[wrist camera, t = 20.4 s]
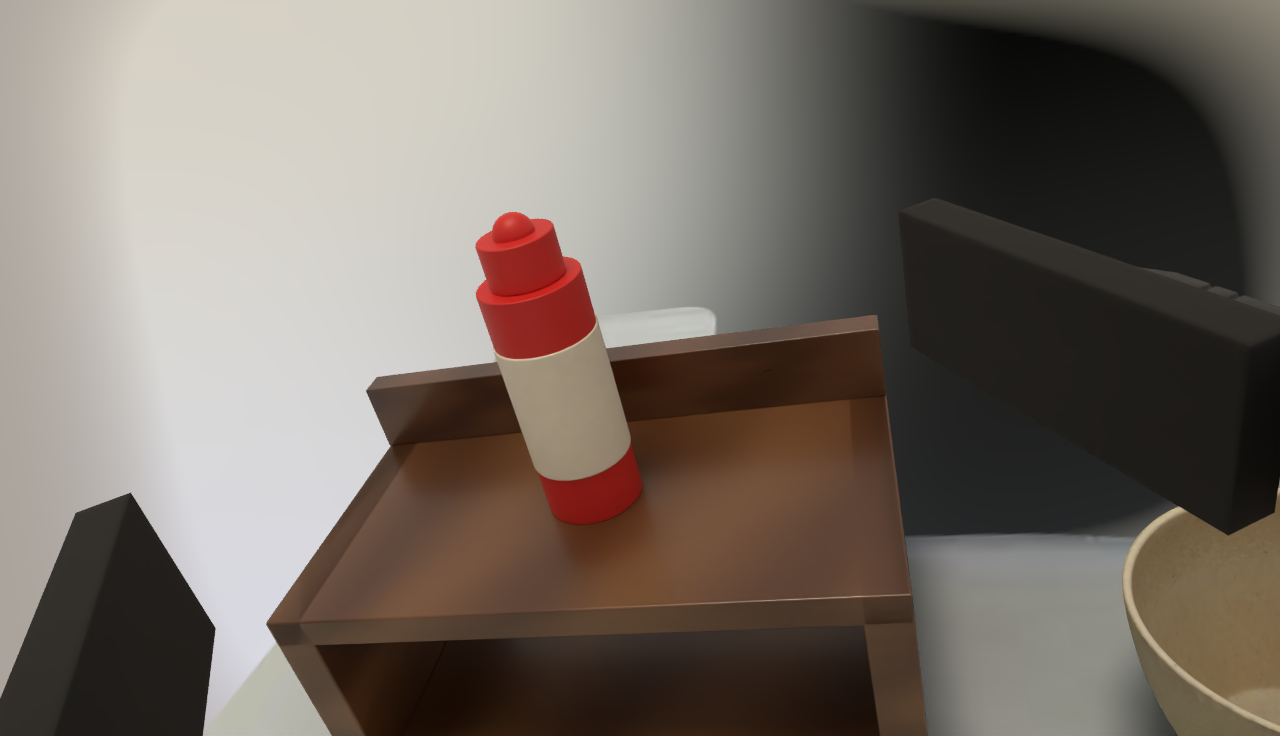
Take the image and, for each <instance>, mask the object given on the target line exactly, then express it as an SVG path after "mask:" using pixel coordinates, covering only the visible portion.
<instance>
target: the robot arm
mask: <svg viewBox="0 0 1280 736" xmlns="http://www.w3.org/2000/svg"><path fill="white" fill-rule="evenodd" d="M899 223H900V234H901V245H902V256H903V268H904V279H905V289H906V301H907V312H908V324H909V335H910V345H911V347H912V348H914V349H916V350H917V351H919V352H921V353H922V354H924V355H926V356H927V357H929V358H931V359H932V360H934V361H936V362H938V363H939V364H941V365H942V366H944V367H946V368H947V369H949V370H951V371H953V372H954V373H956V374H958V375H959V376H961V377H963V378H964V379H966V380H968V381H969V382H971V383H973V384H975V385H976V386H978V387H979V388H981V389H983V390H984V391H986V392H988V393H989V394H991V395H993V396H994V397H996V398H998V399H999V400H1001V401H1003V402H1005V403H1006V404H1008V405H1010V406H1011V407H1013V408H1015V409H1016V410H1018V411H1020V412H1022V413H1023V414H1025V415H1027V416H1028V417H1030V418H1031V419H1033V420H1035V421H1036V422H1038V423H1040V424H1042V425H1043V426H1045V427H1046V428H1048V429H1050V430H1052V431H1053V432H1055V433H1057V434H1058V435H1060V436H1062V437H1063V438H1065V439H1067V440H1068V441H1070V442H1072V443H1073V444H1075V445H1077V446H1078V447H1080V448H1082V449H1084V450H1085V451H1087V452H1088V453H1090V454H1092V455H1093V456H1095V457H1097V458H1099V459H1100V460H1102V461H1104V462H1105V463H1107V464H1109V465H1110V466H1112V467H1114V468H1115V469H1117V470H1119V471H1121V472H1122V473H1124V474H1125V475H1127V476H1129V477H1130V478H1132V479H1134V480H1135V481H1137V482H1139V483H1140V484H1142V485H1144V486H1146V487H1147V488H1149V489H1151V490H1152V491H1154V492H1156V493H1158V494H1159V495H1161V496H1162V497H1164V498H1166V499H1167V500H1169V501H1171V502H1172V503H1174V504H1176V505H1177V506H1179V507H1181V508H1182V509H1184V510H1186V511H1187V512H1189V513H1191V514H1192V515H1194V516H1196V517H1198V518H1199V519H1201V520H1203V521H1204V522H1206V523H1208V524H1209V525H1211V526H1213V527H1214V528H1216V529H1218V530H1219V531H1221V532H1223V533H1224V534H1226V535H1228V536H1229V535H1231V534H1233V533H1235V532H1237V531H1239V530H1241V529H1243V528H1245V527H1247V526H1249V525H1251V524H1253V523H1255V522H1257V521H1259V520H1261V519H1263V518H1265V517H1267V516H1269V515H1271V514H1273V513H1275V507H1276V500H1277V493H1278V486H1279V480H1280V307H1278V306H1275V305H1272V304H1269V303H1266V302H1263V301H1260V300H1257V299H1254V298H1251V297H1248V296H1245V295H1244V296H1242V297H1239V296H1238V293H1236V292H1233V291H1230V290H1227V289H1224V288H1221V287H1218V286H1216V287H1213V288H1212V287H1211V286H1210V284H1209V283H1206V282H1203V281H1200V280H1197V279H1194V278H1191V277H1188V276H1185V275H1182V274H1179V273H1176V272H1175V273H1174V272H1168V271H1160V270H1153V269H1145V268H1139V267H1136V266H1133V265H1130V264H1127V263H1124V262H1121V261H1119V260H1116V259H1113V258H1110V257H1107V256H1104V255H1101V254H1098V253H1095V252H1092V251H1089V250H1086V249H1083V248H1081V247H1078V246H1075V245H1072V244H1069V243H1066V242H1063V241H1060V240H1057V239H1054V238H1051V237H1048V236H1045V235H1042V234H1040V233H1037V232H1034V231H1031V230H1028V229H1025V228H1022V227H1019V226H1016V225H1013V224H1010V223H1007V222H1004V221H1001V220H998V219H996V218H993V217H990V216H987V215H984V214H981V213H978V212H975V211H972V210H969V209H966V208H963V207H960V206H957V205H954V204H951V203H949V202H946V201H943V200H940V199H937V198H933V199H931V200H928V201H925V202H922V203H919V204H917V205H914V206H911V207H909V208H906V209H903V210H900V211H899ZM214 637H215V627H214V625H213V623H212V622H211V620H210V619H209V617H208V616H207V614H206V612H205V611H204V609H203V607H202V606H201V604H200V603H199V601H198V599H197V598H196V596H195V595H194V593H193V591H192V590H191V588H190V587H189V585H188V583H187V582H186V580H185V579H184V577H183V576H182V574H181V572H180V571H179V569H178V568H177V566H176V564H175V563H174V561H173V559H172V558H171V556H170V555H169V553H168V552H167V550H166V548H165V547H164V545H163V544H162V542H161V540H160V539H159V537H158V535H157V534H156V532H155V531H154V529H153V527H152V526H151V524H150V523H149V521H148V519H147V518H146V516H145V515H144V513H143V511H142V510H141V508H140V507H139V505H138V503H137V502H136V500H135V499H134V497H133V496H132V494H131V493H129V494H126V495H123V496H120V497H118V498H115V499H112V500H110V501H107V502H104V503H101V504H99V505H96V506H93V507H91V508H88V509H85V510H82V511H80V512H77V513H76V514H75V516H74V519H73V521H72V524H71V526H70V529H69V531H68V534H67V536H66V538H65V541H64V543H63V546H62V548H61V551H60V553H59V556H58V558H57V560H56V563H55V565H54V568H53V571H52V573H51V575H50V578H49V580H48V583H47V585H46V588H45V590H44V592H43V595H42V597H41V600H40V602H39V605H38V607H37V610H36V612H35V615H34V617H33V620H32V622H31V624H30V627H29V629H28V632H27V635H26V637H25V639H24V642H23V644H22V647H21V649H20V652H19V654H18V657H17V659H16V661H15V664H14V666H13V669H12V671H11V674H10V676H9V679H8V681H7V684H6V686H5V689H4V691H3V694H2V696H1V698H0V736H203V729H204V720H205V712H206V703H207V695H208V687H209V678H210V670H211V662H212V653H213V645H214Z"/></svg>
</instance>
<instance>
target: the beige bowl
mask: <svg viewBox="0 0 1280 736" xmlns="http://www.w3.org/2000/svg"><path fill="white" fill-rule="evenodd" d="M1122 586H1123V595H1124V601H1125V607H1126V613H1127V618H1128V622H1129V626H1130V630H1131V634H1132V637H1133V641H1134V644H1135V647H1136V650H1137V653H1138V657H1139V660H1140V663H1141V665H1142V668H1143V670H1144V673H1145V676H1146V678H1147V680H1148V683H1149V685H1150V687H1151V689H1152V691H1153V693H1154V695H1155V698H1156V699H1157V701H1158V703H1159V705H1160V707H1161V709H1162V711H1163V712H1164V714H1165V716H1166V717H1167V719H1168V721H1169V722H1170V724H1171V726H1172V727H1173V728H1174V730H1175V731H1176V733H1177V734H1178V736H1280V488H1278V493H1277V500H1276V507H1275V513H1273V514H1271V515H1269V516H1267V517H1265V518H1263V519H1261V520H1259V521H1257V522H1255V523H1253V524H1251V525H1249V526H1247V527H1245V528H1243V529H1241V530H1239V531H1237V532H1235V533H1233V534H1231V535H1229V536H1228V535H1226V534H1224V533H1223V532H1221V531H1219V530H1218V529H1216V528H1214V527H1213V526H1211V525H1209V524H1208V523H1206V522H1204V521H1203V520H1201V519H1199V518H1198V517H1196V516H1194V515H1192V514H1191V513H1189V512H1187V511H1186V510H1184V509H1182V508H1181V507H1176V508H1175V509H1173V510H1171V511H1168V512H1167V513H1165V514H1164V515H1162V516H1160V517H1158V518H1157V519H1156V520H1155V521H1153V522H1152V523H1151V524H1150V525H1148V526H1147V527H1146V528H1145V529H1144V530H1143V531H1142V532H1141V533H1140V534H1139V536H1138V537H1137V538H1136V540H1135V541H1134V542H1133V544H1132V546H1131V548H1130V550H1129V552H1128V554H1127V557H1126V560H1125V564H1124V568H1123V578H1122Z"/></svg>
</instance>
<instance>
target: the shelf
mask: <svg viewBox="0 0 1280 736" xmlns="http://www.w3.org/2000/svg"><path fill="white" fill-rule="evenodd" d="M606 351H607V354H608V358H609V362H610V365H611V369H612V372H613V376H614V379H615V383H616V386H617V390H618V393H619V397H620V401H621V404H622V408H623V411H624V415H625V418H626V422H627V425H628V429H629V432H630V436H631V445H632V448H633V452H634V455H635V459H636V462H637V466H638V469H639V473H640V476H641V480H642V488H641V492H640V494H639V496H638V498H637V499H636V500H635V502H634V503H633V504H632V505H631V506H630V507H628V508H627V509H626V510H625V511H623V512H622V513H620V514H618V515H616V516H614V517H612V518H610V519H607V520H605V521H601V522H598V523H593V524H581V525H579V524H570V523H566V522H563V521H561V520H559V519H558V518H557V517H556V516H555V515H554V514H553V513H552V511H551V509H550V506H549V503H548V500H547V498H546V495H545V492H544V489H543V486H542V483H541V480H540V478H539V475H538V472H537V471H536V469H535V468H534V465H533V462H532V459H531V456H530V453H529V450H528V448H527V445H526V442H525V439H524V436H523V433H522V431H521V428H520V425H519V422H518V419H517V416H516V413H515V411H514V408H513V405H512V402H511V399H510V396H509V394H508V391H507V388H506V385H505V382H504V379H503V376H502V374H501V371H500V368H499V365H498V362H494V363H487V364H478V365H471V366H462V367H454V368H446V369H438V370H431V371H422V372H415V373H406V374H398V375H390V376H383V377H377V378H376V379H375V380H374V382H373V383H372V384H371V385H370V387H369V388H368V389H367V390H366V392H367V394H368V396H369V399H370V401H371V403H372V406H373V408H374V410H375V412H376V415H377V417H378V419H379V422H380V424H381V426H382V428H383V430H384V433H385V435H386V437H387V440H388V442H389V444H390V445H391V447H390V448H389V449H388V451H387V452H386V454H385V455H384V457H383V458H382V459H381V461H380V462H379V464H378V465H377V466H376V468H375V469H374V471H373V472H372V473H371V475H370V476H369V478H368V479H367V481H366V482H365V484H364V485H363V487H362V488H361V489H360V491H359V492H358V494H357V495H356V496H355V498H354V499H353V500H352V502H351V503H350V505H349V506H348V508H347V509H346V510H345V512H344V513H343V515H342V516H341V517H340V519H339V520H338V522H337V523H336V525H335V526H334V527H333V529H332V530H331V532H330V533H329V535H328V536H327V537H326V539H325V540H324V542H323V543H322V544H321V546H320V547H319V549H318V550H317V552H316V553H315V554H314V556H313V557H312V559H311V560H310V562H309V563H308V564H307V566H306V567H305V569H304V570H303V572H302V573H301V574H300V576H299V577H298V579H297V580H296V581H295V583H294V584H293V586H292V587H291V589H290V590H289V591H288V593H287V594H286V596H285V597H284V598H283V600H282V601H281V603H280V604H279V606H278V607H277V608H276V610H275V611H274V613H273V614H272V616H271V617H270V618H269V620H268V621H267V624H266V625H267V627H268V628H269V630H270V631H271V633H272V635H273V637H274V638H275V640H276V642H277V644H278V645H279V647H280V649H281V650H282V652H283V654H284V655H285V657H286V659H287V660H288V662H289V664H290V666H291V667H292V669H293V671H294V672H295V674H296V676H297V677H298V679H299V681H300V683H301V684H302V686H303V688H304V689H305V691H306V693H307V694H308V696H309V698H310V699H311V701H312V703H313V705H314V706H315V708H316V710H317V711H318V713H319V715H320V716H321V718H322V720H323V721H324V723H325V725H326V727H327V728H328V730H329V732H330V733H331V735H332V736H928V733H927V724H926V715H925V706H924V697H923V688H922V679H921V670H920V661H919V652H918V643H917V634H916V624H915V615H914V606H913V597H912V589H911V582H910V574H909V566H908V559H907V551H906V543H905V535H904V528H903V520H902V512H901V505H900V497H899V489H898V482H897V475H896V467H895V459H894V451H893V443H892V435H891V428H890V420H889V412H888V405H887V398H886V388H885V379H884V371H883V362H882V353H881V344H880V336H879V327H878V319H877V315H871V316H864V317H855V318H847V319H839V320H831V321H823V322H815V323H807V324H799V325H792V326H783V327H775V328H767V329H759V330H751V331H743V332H735V333H727V334H719V335H711V336H703V337H695V338H687V339H679V340H671V341H663V342H655V343H647V344H639V345H631V346H623V347H615V348H607V349H606Z"/></svg>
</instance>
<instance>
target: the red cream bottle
mask: <svg viewBox="0 0 1280 736" xmlns="http://www.w3.org/2000/svg"><path fill="white" fill-rule="evenodd" d="M476 250H477V253H478V256H479V259H480V262H481V265H482V268H483V271H484V274H485V277H486V280H485V281H484V282H483V283H482V284H481V285H480V286H479V288H478V289H477V292H476V298H477V300H478V303H479V306H480V309H481V312H482V315H483V318H484V321H485V323H486V326H487V329H488V332H489V335H490V337H491V341H492V343H493V351H494V354H495V357H496V359H497V362H498V365H499V368H500V371H501V374H502V376H503V379H504V382H505V385H506V388H507V391H508V394H509V396H510V399H511V402H512V405H513V408H514V411H515V413H516V416H517V419H518V422H519V425H520V428H521V431H522V433H523V436H524V439H525V442H526V445H527V448H528V450H529V453H530V456H531V459H532V462H533V465H534V468H535V469H536V471H537V472H538V475H539V478H540V480H541V483H542V486H543V489H544V492H545V495H546V498H547V500H548V503H549V506H550V509H551V511H552V513H553V514H554V515H555V516H556V517H557V518H558V519H559V520H561V521H563V522H566V523H570V524H579V525H581V524H593V523H598V522H601V521H605V520H607V519H610V518H612V517H614V516H616V515H618V514H620V513H622V512H623V511H625V510H626V509H627V508H628V507H630V506H631V505H632V504H633V503H634V502H635V500H636V499H637V498H638V496H639V494H640V492H641V488H642V480H641V476H640V473H639V469H638V466H637V462H636V459H635V455H634V452H633V448H632V445H631V436H630V432H629V429H628V425H627V422H626V418H625V415H624V411H623V408H622V404H621V401H620V397H619V393H618V390H617V386H616V383H615V379H614V376H613V372H612V369H611V365H610V362H609V358H608V354H607V351H606V347H605V344H604V340H603V337H602V333H601V330H600V326H599V322H598V319H597V317H596V316H595V314H594V310H593V307H592V304H591V300H590V296H589V293H588V289H587V285H586V282H585V278H584V275H583V271H582V268H581V265H580V263H579V262H578V261H577V260H575V259H573V258H569V257H563V256H562V253H561V249H560V246H559V243H558V239H557V236H556V233H555V229H554V226H553V223H551V221H549V220H546V219H529V218H528V217H527V216H525V215H524V214H521V213H518V212H509V213H506V214H503V215H502V216H500V217H499V218H498V219H497V220H496V222H495V223H494V225H493V229H492V231H490V232H489V233H487V234H485V235H484V236H482V237H481V238H480V239H479V240H478V241H477V243H476Z"/></svg>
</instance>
